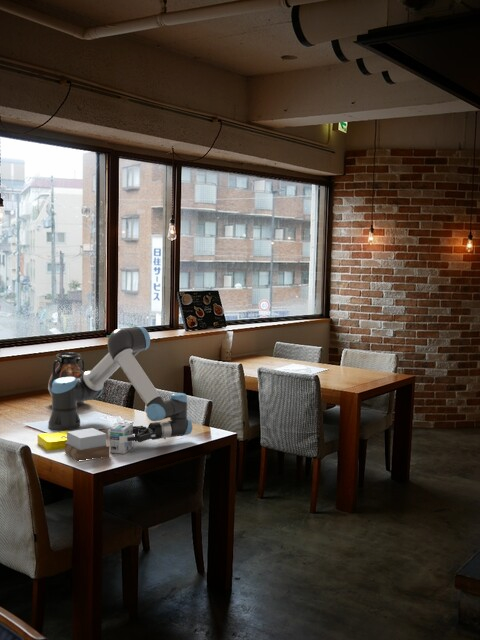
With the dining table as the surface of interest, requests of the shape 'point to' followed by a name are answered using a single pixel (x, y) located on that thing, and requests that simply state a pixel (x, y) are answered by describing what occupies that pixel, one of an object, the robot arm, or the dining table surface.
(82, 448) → the tower top
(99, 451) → the tower base
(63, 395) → the robot arm
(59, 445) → the element tile
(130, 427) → the light bulb box
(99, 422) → the dining table surface
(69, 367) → the amphora vase
